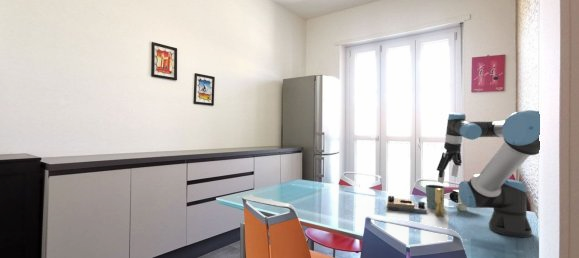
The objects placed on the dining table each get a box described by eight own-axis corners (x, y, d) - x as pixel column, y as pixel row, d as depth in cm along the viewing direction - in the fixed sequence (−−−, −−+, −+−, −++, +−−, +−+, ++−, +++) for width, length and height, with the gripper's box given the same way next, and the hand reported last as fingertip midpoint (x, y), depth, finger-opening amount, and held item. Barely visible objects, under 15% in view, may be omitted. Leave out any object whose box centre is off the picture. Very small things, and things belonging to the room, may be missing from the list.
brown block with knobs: (426, 213, 151) (426, 201, 150) (387, 210, 158) (387, 198, 157) (424, 207, 162) (424, 196, 162) (387, 204, 169) (387, 193, 169)
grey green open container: (433, 210, 157) (433, 188, 157) (421, 205, 167) (421, 185, 167) (449, 208, 160) (449, 187, 160) (435, 203, 170) (435, 184, 169)
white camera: (474, 211, 155) (474, 189, 155) (454, 211, 154) (454, 190, 154) (467, 208, 160) (467, 187, 160) (448, 208, 159) (448, 187, 159)
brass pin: (444, 217, 145) (444, 190, 145) (435, 216, 146) (435, 189, 146) (443, 214, 149) (443, 188, 149) (434, 214, 150) (434, 188, 150)
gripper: (458, 136, 156) (452, 171, 162) (432, 144, 143) (427, 182, 149) (472, 139, 150) (466, 176, 156) (447, 148, 137) (441, 187, 143)
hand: (447, 179), depth 152 cm, fingers open, 13 cm apart
